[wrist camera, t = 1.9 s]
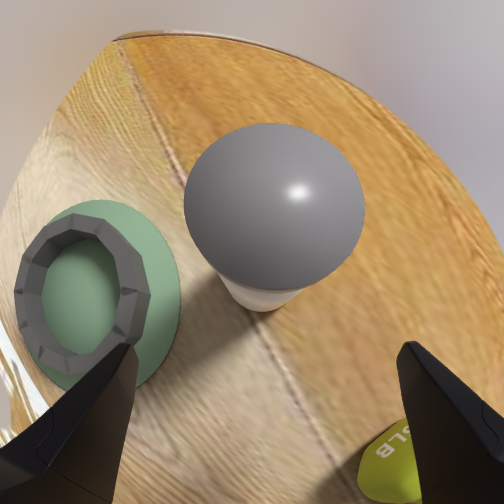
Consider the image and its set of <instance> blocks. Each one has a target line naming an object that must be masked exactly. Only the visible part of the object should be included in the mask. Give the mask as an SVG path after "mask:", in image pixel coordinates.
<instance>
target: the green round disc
mask: <svg viewBox="0 0 504 504" xmlns="http://www.w3.org/2000/svg"><path fill="white" fill-rule="evenodd" d="M14 298H15V306H16V314H17V320H18V326H19V330H20V332H21V333H22V335H23V338H24V341H25V343H26V346H27V348H28V350H29V352H30V354H31V356H32V357H33V359H34V361H35V362H36V364H37V365H38V366H39V368H40V369H41V370H42V371H43V372H44V373H45V375H46V376H47V377H48V378H49V379H51V380H52V381H53V382H54V383H56V384H57V385H58V386H60V387H61V388H63V389H65V390H66V391H68V390H69V389H70V388H71V387H72V386H73V385H74V384H76V383H77V382H78V381H79V380H80V379H81V378H82V377H83V376H84V375H85V374H86V373H87V372H88V371H89V370H90V369H92V368H93V367H94V366H95V365H96V364H97V363H98V362H99V361H100V360H101V359H102V358H103V357H104V356H105V355H107V354H108V353H109V352H110V351H111V350H112V349H113V348H114V347H115V346H116V345H117V344H119V343H120V342H126V343H131V344H132V345H133V346H134V349H135V351H136V354H137V356H138V359H139V368H138V374H137V381H136V387H138V386H139V385H141V384H142V383H144V382H145V381H146V380H147V379H148V378H149V377H150V376H151V375H153V374H154V372H155V371H156V370H157V369H158V367H159V366H160V365H161V364H162V362H163V360H164V358H165V357H166V355H167V353H168V352H169V349H170V347H171V345H172V342H173V340H174V337H175V333H176V330H177V326H178V321H179V315H180V303H181V292H180V280H179V276H178V271H177V266H176V263H175V260H174V257H173V254H172V252H171V250H170V248H169V246H168V244H167V242H166V240H165V239H164V237H163V236H162V234H161V233H160V231H159V230H158V229H157V228H156V227H155V226H154V225H153V223H152V222H151V221H150V220H149V219H148V218H146V217H145V216H144V215H143V214H142V213H140V212H139V211H137V210H135V209H134V208H132V207H130V206H128V205H125V204H123V203H119V202H115V201H109V200H93V201H87V202H83V203H80V204H77V205H74V206H72V207H70V208H68V209H66V210H64V211H63V212H61V213H60V214H58V215H57V216H56V217H54V218H53V219H52V220H51V221H50V222H49V223H48V224H47V225H46V226H44V227H43V228H42V230H41V231H40V232H39V233H38V235H37V236H36V237H35V239H34V240H33V241H32V243H31V244H30V245H29V247H28V248H27V250H26V251H25V252H24V254H23V256H22V259H21V263H20V267H19V271H18V275H17V279H16V283H15V288H14Z"/></svg>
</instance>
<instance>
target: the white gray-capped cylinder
mask: <svg viewBox="0 0 504 504" xmlns="http://www.w3.org/2000/svg"><path fill="white" fill-rule="evenodd" d="M184 214H185V219H186V224H187V227H188V230H189V232H190V235H191V237H192V239H193V241H194V243H195V244H196V246H197V248H198V249H199V251H200V252H201V254H202V255H203V256H204V258H205V259H206V261H207V262H208V263H209V264H210V265H211V266H212V267H213V268H214V269H215V270H216V271H217V273H218V275H219V276H220V278H221V279H222V281H223V282H224V284H225V286H226V287H227V289H228V290H229V292H230V293H231V295H232V296H233V298H234V299H235V300H236V301H237V302H238V303H239V304H240V305H242V306H243V307H245V308H247V309H249V310H252V311H257V312H267V311H272V310H275V309H277V308H279V307H281V306H283V305H284V304H285V303H287V302H288V301H289V300H291V299H292V298H293V297H295V296H296V295H297V294H298V293H300V292H301V291H302V290H304V289H305V288H306V287H309V286H311V285H313V284H315V283H317V282H318V281H320V280H322V279H323V278H325V277H326V276H328V275H329V274H330V273H332V272H333V271H334V270H335V269H337V268H338V267H339V266H340V265H341V264H342V263H343V262H344V261H345V260H346V259H347V258H348V256H349V255H350V254H351V252H352V251H353V249H354V248H355V246H356V244H357V242H358V240H359V237H360V235H361V232H362V228H363V224H364V217H365V202H364V195H363V191H362V187H361V184H360V181H359V179H358V176H357V174H356V172H355V171H354V169H353V167H352V166H351V164H350V163H349V161H348V160H347V159H346V157H345V156H344V155H343V154H342V153H341V152H340V151H339V150H338V149H337V148H336V147H335V146H333V145H332V144H331V143H330V142H328V141H327V140H325V139H324V138H322V137H320V136H319V135H317V134H315V133H313V132H311V131H308V130H305V129H303V128H300V127H296V126H291V125H286V124H274V123H267V124H256V125H251V126H247V127H243V128H240V129H237V130H235V131H233V132H230V133H228V134H226V135H225V136H223V137H221V138H220V139H218V140H217V141H216V142H214V143H213V144H212V145H210V146H209V147H208V148H207V149H206V150H205V151H204V152H203V154H202V155H201V156H200V157H199V159H198V160H197V161H196V163H195V165H194V167H193V168H192V170H191V172H190V175H189V177H188V180H187V183H186V187H185V193H184Z"/></svg>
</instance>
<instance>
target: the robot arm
mask: <svg viewBox="0 0 504 504" xmlns="http://www.w3.org/2000/svg"><path fill="white" fill-rule="evenodd" d="M396 364H397V370H398V376H399V382H400V389H401V396H402V401H403V406H404V410H405V414H406V418H407V422H408V427H409V431H410V436H411V440H412V445H413V450H414V455H415V460H416V466H417V471H418V477H419V484H420V490H421V498H422V504H504V418H503V417H502V416H501V415H499V414H498V413H497V412H496V411H495V410H494V409H492V408H491V407H490V406H489V405H488V404H487V403H486V402H485V401H484V400H482V399H481V398H480V397H479V396H478V395H477V394H476V393H475V392H474V391H473V390H471V389H470V388H469V387H468V386H467V385H466V384H465V383H464V382H463V381H461V380H460V379H459V378H458V377H457V376H456V375H455V374H454V373H452V372H451V371H450V370H449V369H448V368H447V367H446V366H445V365H443V364H442V363H441V362H440V361H439V360H438V359H437V358H435V357H434V356H433V355H432V354H431V353H430V352H428V351H427V350H426V349H425V348H424V347H423V346H421V345H420V344H419V343H418V342H416V341H408V342H405V343H404V344H403V346H402V348H401V350H400V352H399V354H398V356H397V360H396ZM138 368H139V359H138V356H137V354H136V351H135V349H134V346H133V345H132V344H131V343H126V342H120V343H119V344H117V345H116V346H115V347H114V348H113V349H112V350H111V351H110V352H109V353H108V354H107V355H105V356H104V357H103V358H102V359H101V360H100V361H99V362H98V363H97V364H96V365H95V366H94V367H93V368H92V369H90V370H89V371H88V372H87V373H86V374H85V375H84V376H83V377H82V378H81V379H80V380H79V381H78V382H77V383H76V384H74V385H73V386H72V387H71V388H70V389H69V390H68V391H67V392H66V393H65V394H64V395H63V396H62V397H61V398H60V399H59V400H58V401H57V402H56V403H55V404H53V406H52V407H50V408H49V409H48V410H47V411H46V412H45V413H44V414H43V415H42V416H41V417H40V418H39V419H37V420H36V421H35V422H34V423H33V424H32V425H30V426H29V427H28V428H27V429H25V430H24V431H23V432H22V433H20V434H19V435H18V436H16V437H15V438H14V439H13V440H11V441H10V442H9V443H7V444H6V445H5V446H3V447H2V448H0V504H112V501H113V496H114V490H115V485H116V479H117V474H118V469H119V464H120V459H121V455H122V450H123V445H124V441H125V437H126V432H127V428H128V424H129V420H130V416H131V412H132V407H133V402H134V396H135V388H136V381H137V374H138Z"/></svg>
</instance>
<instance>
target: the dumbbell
mask: <svg viewBox="0 0 504 504" xmlns="http://www.w3.org/2000/svg"><path fill="white" fill-rule="evenodd" d="M357 484H358V486H359V488H360V490H361V491H362V492H363V493H364V494H365V495H366V496H367V497H368V498H370V499H371V500H374V501H378V502H383V503H395V504H404V503H411V502H414V503H415V504H422V498H421V490H420V484H419V477H418V471H417V466H416V460H415V455H414V450H413V445H412V440H411V436H410V431H409V427H408V422H407V418H404V419H402V420H400V421H399V422H397V423H396V424H395V425H393V426H392V427H391V428H390V429H388V430H387V431H386V432H385V433H383V434H382V435H381V436H380V437H379V438H377V439H376V440H375V441H374V442H372V443H371V444H370V445H369V446H368V447H367V448H366V450H365V451H364V453H363V455H362V459H361V462H360V466H359V471H358V477H357Z"/></svg>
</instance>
